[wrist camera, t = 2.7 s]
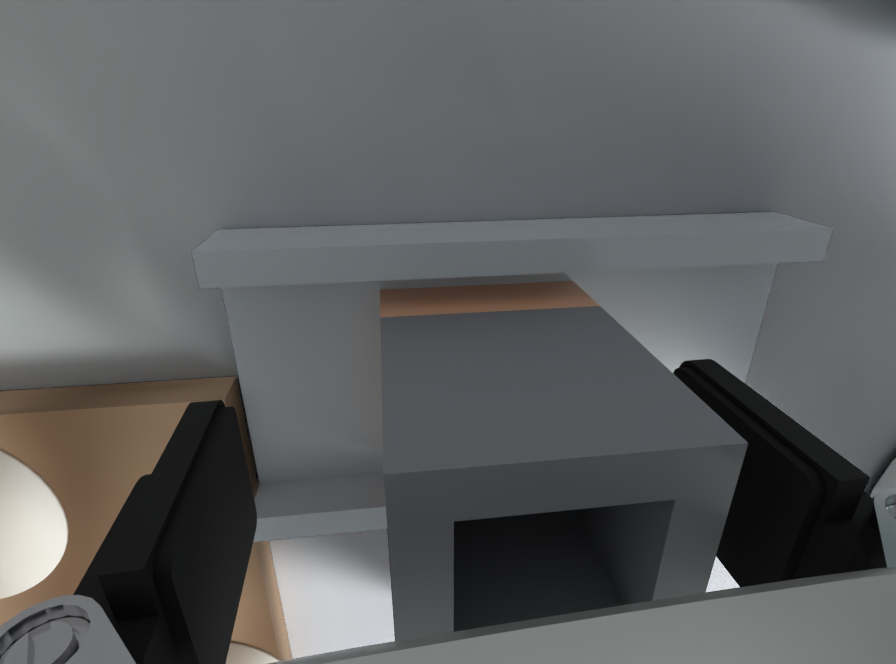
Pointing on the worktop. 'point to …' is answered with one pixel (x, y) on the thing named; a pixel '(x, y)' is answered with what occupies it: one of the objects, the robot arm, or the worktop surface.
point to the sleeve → (539, 460)
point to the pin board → (106, 492)
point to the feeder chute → (442, 265)
